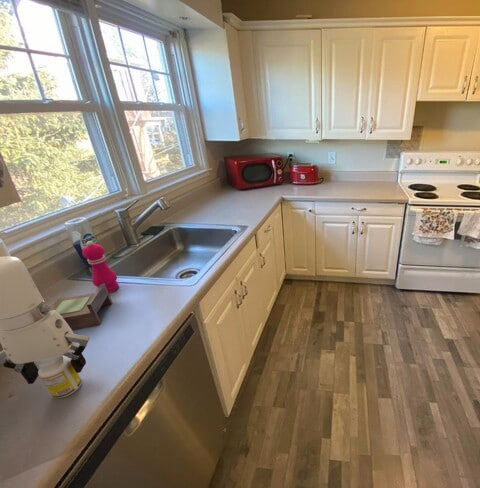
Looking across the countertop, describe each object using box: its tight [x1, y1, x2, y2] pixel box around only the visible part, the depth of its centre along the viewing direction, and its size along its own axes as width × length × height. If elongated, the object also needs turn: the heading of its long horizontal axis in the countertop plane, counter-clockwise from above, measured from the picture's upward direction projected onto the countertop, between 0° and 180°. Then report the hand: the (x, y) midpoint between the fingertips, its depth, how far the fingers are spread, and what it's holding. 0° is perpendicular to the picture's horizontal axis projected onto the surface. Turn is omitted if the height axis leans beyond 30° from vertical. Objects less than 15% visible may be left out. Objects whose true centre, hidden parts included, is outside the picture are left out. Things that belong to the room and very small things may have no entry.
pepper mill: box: [81, 240, 120, 294], centre depth 101 cm, size 7×7×20 cm
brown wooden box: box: [52, 284, 113, 331], centre depth 89 cm, size 14×12×8 cm
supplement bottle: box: [37, 355, 83, 399], centre depth 65 cm, size 6×6×10 cm
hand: (58, 373), depth 65 cm, fingers open, 8 cm apart
